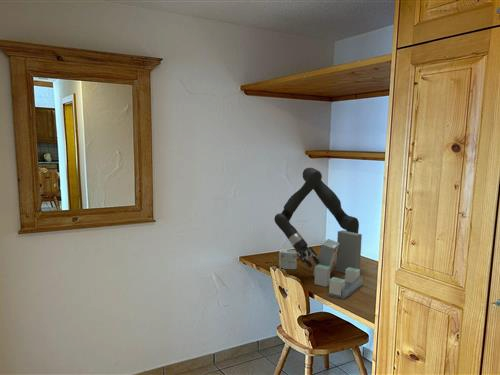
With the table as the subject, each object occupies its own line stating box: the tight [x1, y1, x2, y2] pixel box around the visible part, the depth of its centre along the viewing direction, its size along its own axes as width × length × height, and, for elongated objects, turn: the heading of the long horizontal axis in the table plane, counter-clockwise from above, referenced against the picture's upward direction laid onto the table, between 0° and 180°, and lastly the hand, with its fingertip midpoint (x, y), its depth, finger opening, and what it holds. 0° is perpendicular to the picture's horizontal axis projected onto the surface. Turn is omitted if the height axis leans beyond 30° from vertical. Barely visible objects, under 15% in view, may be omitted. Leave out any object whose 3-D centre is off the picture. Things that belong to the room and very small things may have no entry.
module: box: [313, 265, 331, 288], centre depth 220 cm, size 5×7×10 cm
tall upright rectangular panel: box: [335, 229, 363, 275], centre depth 239 cm, size 14×6×25 cm, turn 41°
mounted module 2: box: [344, 267, 361, 283], centre depth 220 cm, size 5×6×7 cm
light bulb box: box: [278, 249, 298, 270], centre depth 248 cm, size 11×7×11 cm, turn 92°
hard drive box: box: [312, 238, 340, 277], centre depth 232 cm, size 16×8×20 cm, turn 155°
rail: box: [327, 276, 364, 300], centre depth 212 cm, size 26×9×4 cm, turn 144°
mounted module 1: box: [328, 276, 345, 296], centre depth 203 cm, size 5×6×7 cm
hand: (315, 265), depth 221 cm, fingers open, 8 cm apart
